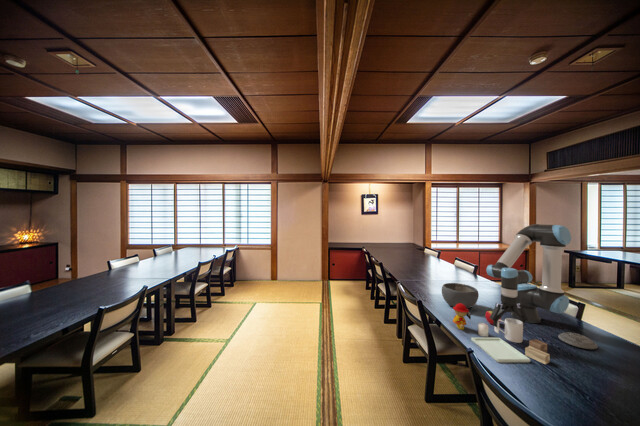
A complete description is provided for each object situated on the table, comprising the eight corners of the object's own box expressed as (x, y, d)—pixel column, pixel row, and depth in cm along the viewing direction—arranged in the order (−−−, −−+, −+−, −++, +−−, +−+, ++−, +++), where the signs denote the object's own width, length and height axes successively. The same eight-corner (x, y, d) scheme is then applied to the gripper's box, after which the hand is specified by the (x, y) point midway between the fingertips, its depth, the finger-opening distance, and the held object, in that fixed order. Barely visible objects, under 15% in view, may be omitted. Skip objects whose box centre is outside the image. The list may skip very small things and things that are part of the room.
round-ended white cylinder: (484, 332, 144) (484, 322, 144) (490, 337, 139) (490, 326, 139) (476, 332, 144) (476, 322, 144) (481, 337, 139) (481, 326, 139)
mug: (520, 337, 139) (520, 319, 139) (524, 344, 132) (524, 325, 132) (494, 332, 144) (494, 315, 144) (497, 339, 137) (497, 320, 137)
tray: (499, 340, 136) (499, 337, 136) (530, 362, 116) (530, 359, 116) (471, 340, 136) (471, 337, 136) (497, 362, 116) (497, 359, 116)
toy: (472, 332, 144) (472, 307, 144) (456, 331, 146) (456, 306, 146) (465, 324, 155) (465, 301, 155) (450, 322, 157) (450, 299, 157)
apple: (482, 320, 161) (482, 305, 161) (497, 321, 159) (497, 306, 159) (488, 326, 153) (488, 310, 153) (504, 327, 151) (504, 311, 151)
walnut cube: (536, 348, 128) (536, 339, 128) (547, 353, 123) (547, 344, 123) (529, 349, 127) (529, 340, 127) (540, 355, 122) (540, 345, 122)
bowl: (478, 304, 189) (478, 285, 189) (478, 315, 168) (478, 294, 168) (443, 298, 202) (443, 280, 202) (439, 308, 181) (440, 288, 181)
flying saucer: (592, 354, 123) (592, 344, 123) (553, 340, 136) (553, 331, 136) (602, 347, 130) (602, 337, 130) (564, 334, 143) (564, 325, 143)
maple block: (529, 353, 123) (529, 346, 123) (549, 362, 116) (549, 354, 116) (525, 355, 122) (525, 347, 122) (545, 364, 114) (545, 356, 114)
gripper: (525, 293, 142) (524, 329, 142) (482, 292, 142) (482, 328, 142) (536, 298, 134) (536, 335, 134) (492, 297, 134) (491, 335, 134)
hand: (508, 332), depth 138 cm, fingers open, 13 cm apart
